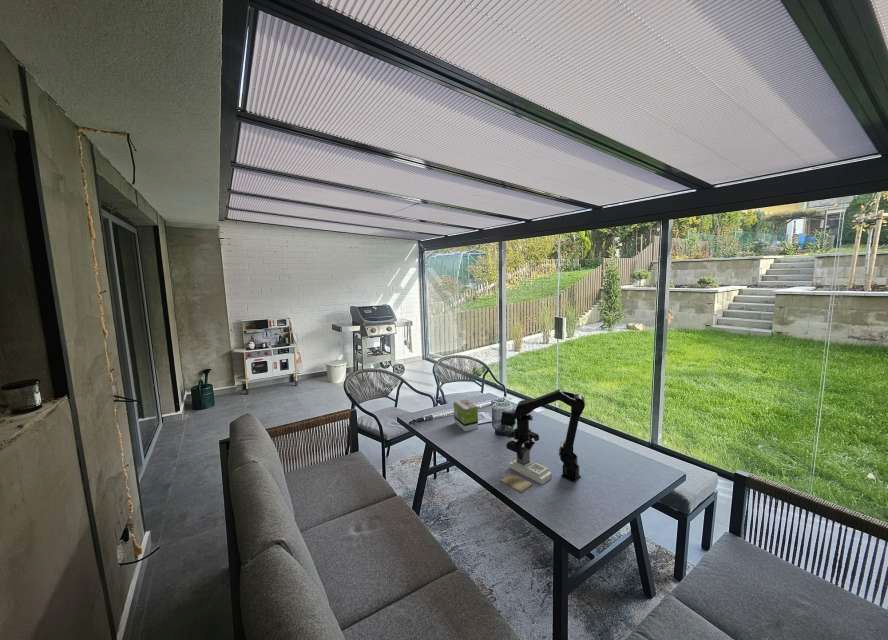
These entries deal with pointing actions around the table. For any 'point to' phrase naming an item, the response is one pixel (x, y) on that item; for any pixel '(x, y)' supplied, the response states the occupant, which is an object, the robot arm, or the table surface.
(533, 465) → the power strip
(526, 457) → the block
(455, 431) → the table surface
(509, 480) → the cork pad
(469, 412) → the tea box
